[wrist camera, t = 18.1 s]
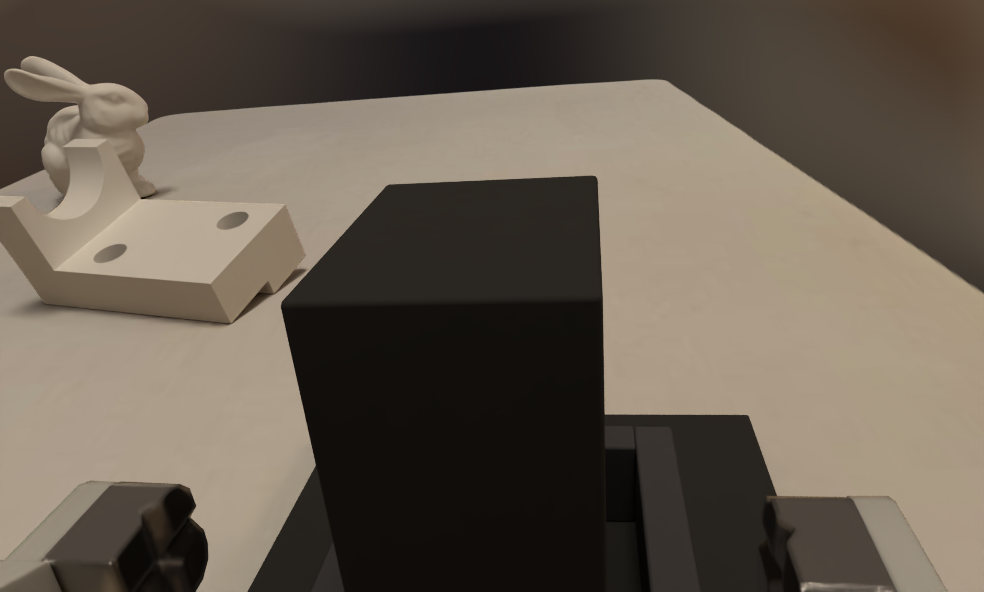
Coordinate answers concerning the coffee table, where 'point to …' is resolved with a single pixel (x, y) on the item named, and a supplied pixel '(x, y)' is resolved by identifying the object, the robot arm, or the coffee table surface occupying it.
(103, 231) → the bracket
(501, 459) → the pad block
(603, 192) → the coffee table surface
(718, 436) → the base pad
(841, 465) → the coffee table surface
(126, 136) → the rabbit
